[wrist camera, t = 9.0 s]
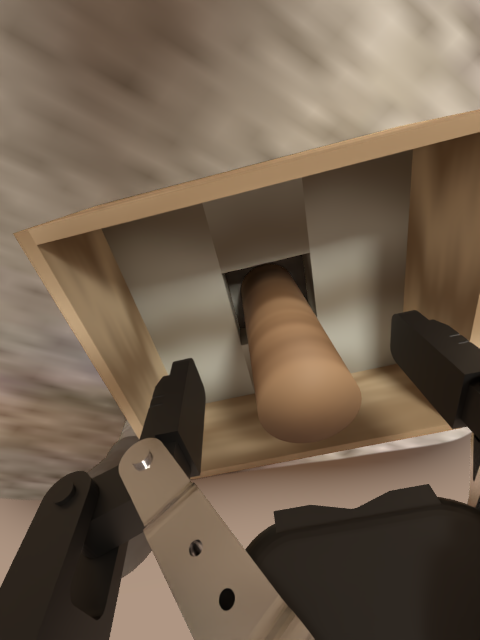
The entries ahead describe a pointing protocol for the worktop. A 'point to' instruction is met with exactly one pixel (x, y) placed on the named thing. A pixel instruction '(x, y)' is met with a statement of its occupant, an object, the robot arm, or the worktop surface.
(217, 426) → the crate
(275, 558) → the robot arm
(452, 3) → the worktop surface
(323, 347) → the peg
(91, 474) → the light bulb
